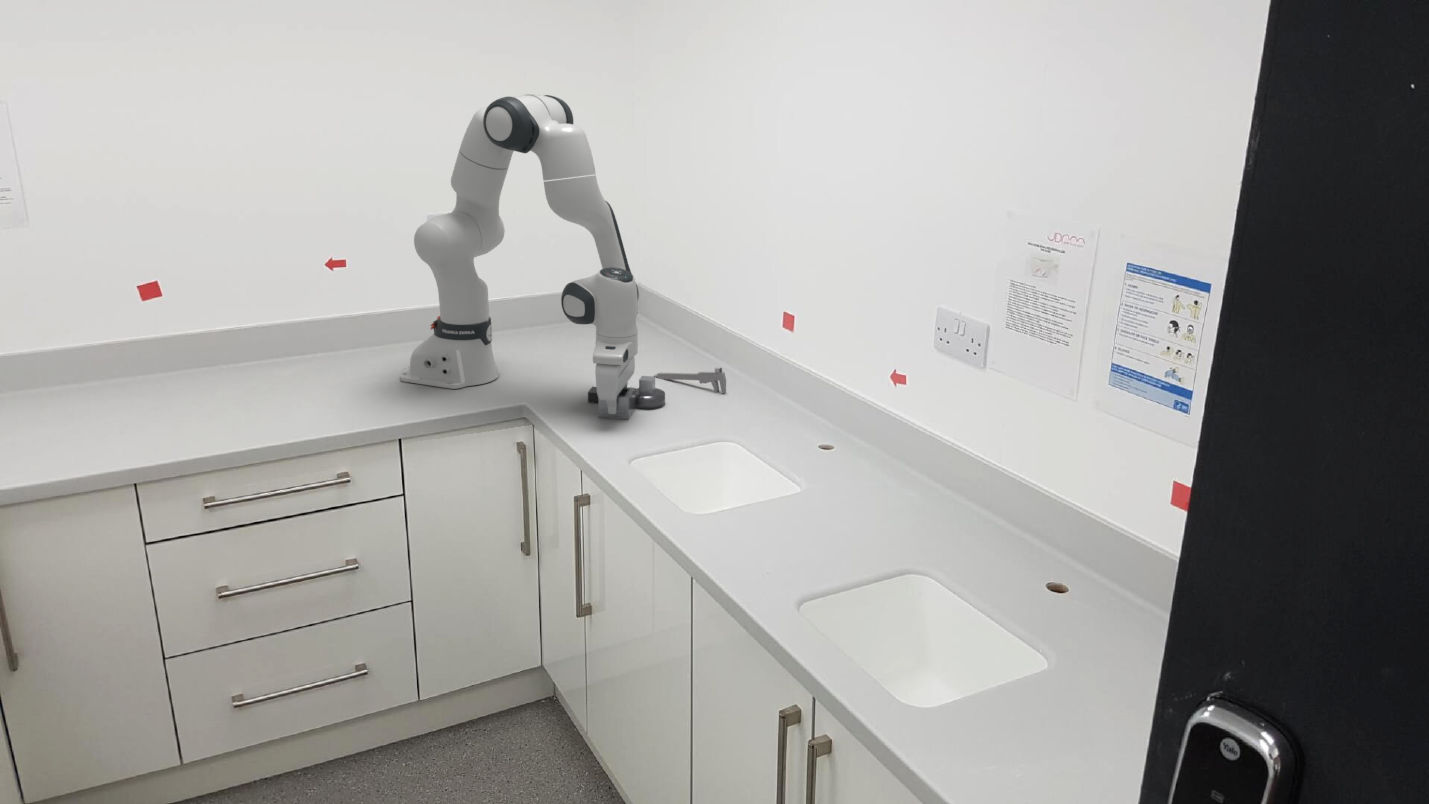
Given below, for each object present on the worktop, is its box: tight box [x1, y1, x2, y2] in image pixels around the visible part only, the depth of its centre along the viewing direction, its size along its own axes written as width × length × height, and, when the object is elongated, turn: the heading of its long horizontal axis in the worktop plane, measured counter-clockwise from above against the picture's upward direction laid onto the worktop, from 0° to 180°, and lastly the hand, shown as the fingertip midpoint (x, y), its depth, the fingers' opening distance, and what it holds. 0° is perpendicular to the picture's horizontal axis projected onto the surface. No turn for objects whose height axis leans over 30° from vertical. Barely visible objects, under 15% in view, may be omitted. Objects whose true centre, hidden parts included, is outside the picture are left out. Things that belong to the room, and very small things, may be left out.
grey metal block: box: [598, 386, 636, 421], centre depth 237 cm, size 7×7×5 cm
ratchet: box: [587, 375, 666, 411], centre depth 244 cm, size 17×8×6 cm, turn 82°
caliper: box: [652, 367, 727, 395], centre depth 256 cm, size 20×1×6 cm, turn 56°
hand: (617, 406), depth 237 cm, fingers closed on grey metal block, 7 cm apart
